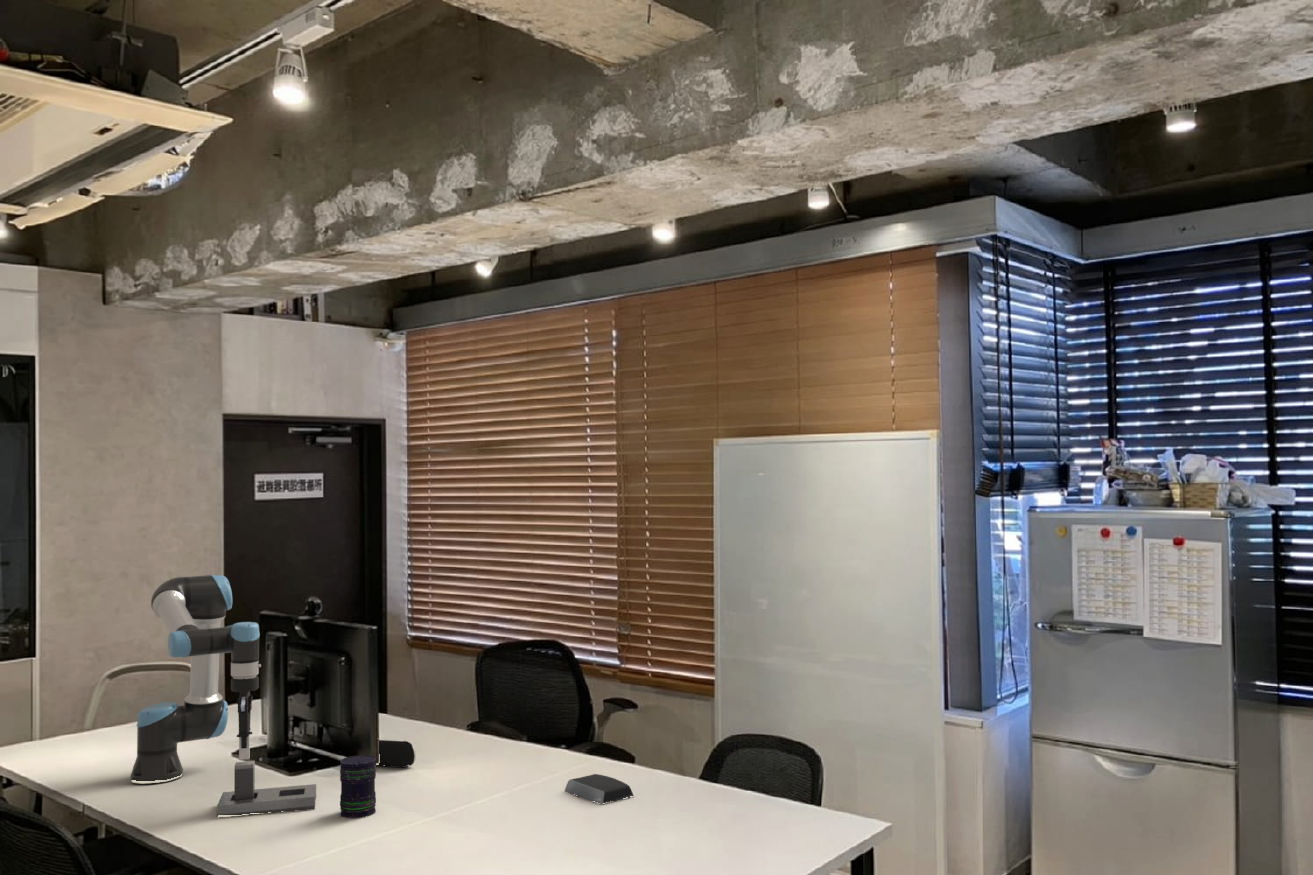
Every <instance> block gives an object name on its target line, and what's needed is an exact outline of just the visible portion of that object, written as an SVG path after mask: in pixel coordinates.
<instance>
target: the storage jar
mask: <svg viewBox="0 0 1313 875" xmlns="http://www.w3.org/2000/svg"><path fill="white" fill-rule="evenodd" d="M375 761H376V758H375V757H374V756H368V755H363V754H360V755H352V756H351V755H350V756H348V757H344V758H342V759H340V762H339V763H340V770H339V776H340V777H339V780H340V782H341V783H340V786H341V788H340V797H339V798H340V801H339V808H340V814H339V815H340V817H341V818H345V819H362V817H363V818H366V816H367V817H370V816H373V815H374V814H375V813H376V805H377V804H376V802H377V798H376V795H377V794H376V789H375V788H376V786H375V785H376V784H375V783H376V778H377V777H376V775H377V774H376V771H377V766H376V763H375Z"/></svg>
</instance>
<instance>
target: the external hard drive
mask: <svg viewBox="0 0 1313 875" xmlns="http://www.w3.org/2000/svg"><path fill="white" fill-rule="evenodd" d="M564 791H565V792H566V791H567V793H569V794H570V793H571V795H572V794H575V795H577V796H579V797H578V798H580V797H582V798H584V799H583V800H585V799H586V800H585V801H588V800H589V801H588V802H591V801H595V802H598V803H601V804H603V803H606V802H610V801H615V802H618V801H617V800H620V799H623V798H626V797H630V796H634V793H633V791H632V788H631V787H630V785H629V784H627V783H625V782H623V781H622V780H619V779H616V778H613V777H611V776H607V775H603V774H598V773H597V774H596V773H593V774H589V775H585V776H582V777H577V778H572V779H569V780H568V781H567V783H566V785H565V789H564ZM575 795H574V796H575ZM577 796H576V797H577ZM582 798H581V799H582ZM620 801H621V800H620ZM601 804H600V805H601ZM603 805H604V804H603Z"/></svg>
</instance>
